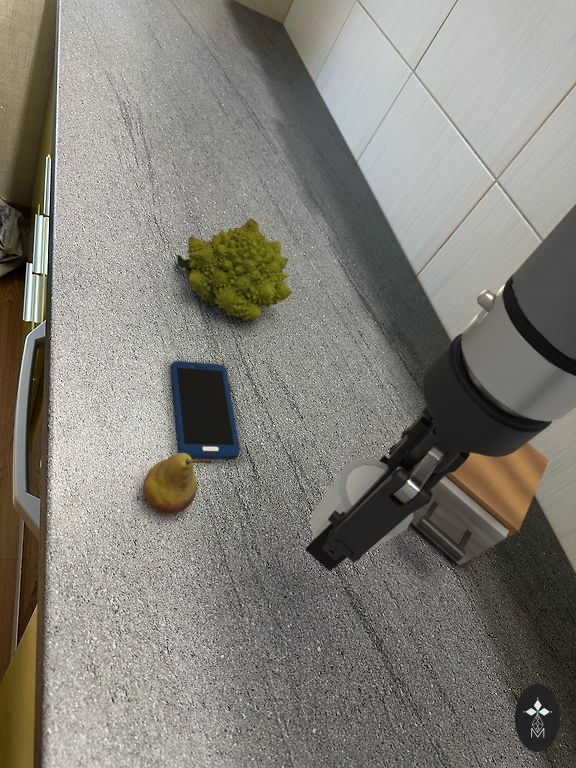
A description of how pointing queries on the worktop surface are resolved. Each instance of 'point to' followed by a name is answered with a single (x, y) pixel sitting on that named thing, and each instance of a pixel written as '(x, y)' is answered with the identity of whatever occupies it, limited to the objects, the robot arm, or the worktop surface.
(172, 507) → the fruit
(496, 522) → the drawer
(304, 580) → the worktop surface
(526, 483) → the cabinet
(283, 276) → the vegetable
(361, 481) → the white cup
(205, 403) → the cell phone
